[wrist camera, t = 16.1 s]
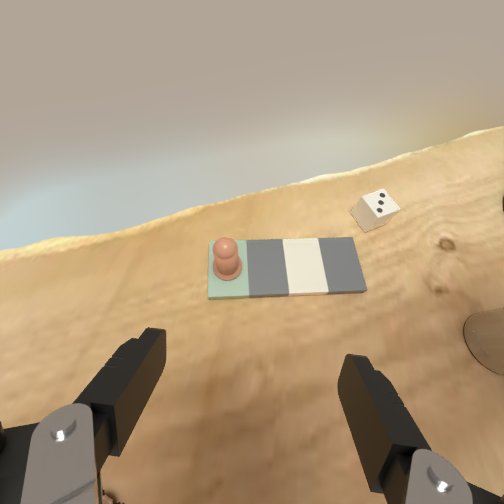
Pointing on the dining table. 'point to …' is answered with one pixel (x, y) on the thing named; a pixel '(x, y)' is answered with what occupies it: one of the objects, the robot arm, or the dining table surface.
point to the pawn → (226, 259)
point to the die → (374, 210)
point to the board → (291, 269)
